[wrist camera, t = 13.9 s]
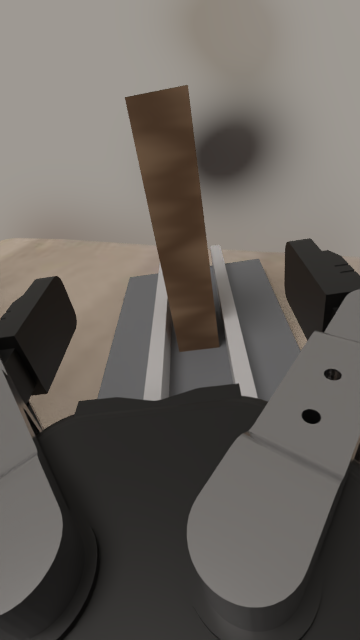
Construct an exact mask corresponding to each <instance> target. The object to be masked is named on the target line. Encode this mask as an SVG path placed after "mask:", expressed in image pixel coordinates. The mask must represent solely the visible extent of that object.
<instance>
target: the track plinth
mask: <svg viewBox="0 0 360 640" xmlns="http://www.w3.org/2000/svg"><path fill="white" fill-rule="evenodd" d="M211 256H212V265H213V266H210V273H211V281H212V289H213V298H214V306H215V314H216V322H217V331H218V339H219V347H218V348H210V349H202V350H193V351H185V352H179V348H178V343H177V339H176V334H175V329H174V324H173V320H172V315H171V310H170V306H169V301H168V296H167V292H166V287H165V282H164V278H163V273H162V268H161V264H160V266H159V273H158V274H151V275H144V276H137V277H130V279H129V283H128V287H127V290H126V294H125V298H124V301H123V305H122V309H121V313H120V316H119V320H118V324H117V327H116V331H115V335H114V339H113V342H112V346H111V350H110V353H109V357H108V361H107V365H106V368H105V372H104V376H103V380H102V383H101V387H100V391H99V394H98V398H97V399H103V398H112V397H122V398H132V399H141V400H151V401H157V400H161V399H165V398H168V397H171V396H174V395H177V394H180V393H184V392H187V391H190V390H193V389H196V388H201V387H210V386H219V385H228V384H237V383H239V386H240V391H241V396H249V397H253V398H258V399H262V400H265V401H268V402H269V400H270V399H271V397H272V395H273V394H274V392H275V391H276V389H277V388H278V386H279V385H280V383H281V381H282V380H283V378H284V377H285V375H286V374H287V372H288V371H289V369H290V367H291V366H292V364H293V363H294V361H295V360H296V358H297V357H298V355H299V353H300V352H301V351H300V349H299V347H298V345H297V342H296V340H295V338H294V336H293V333H292V331H291V329H290V327H289V325H288V322H287V320H286V318H285V316H284V314H283V311H282V309H281V307H280V305H279V302H278V300H277V298H276V296H275V294H274V291H273V289H272V287H271V285H270V283H269V280H268V278H267V276H266V274H265V271H264V269H263V267H262V265H261V263H260V260H259V259H254V260H247V261H240V262H233V263H226V264H225V263H224V259H223V255H222V251H221V247H220V245H217V246H211Z"/></svg>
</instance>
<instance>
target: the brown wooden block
mask: <svg viewBox="0 0 360 640" xmlns="http://www.w3.org/2000/svg"><path fill="white" fill-rule="evenodd" d="M125 100H126V104H127V110H128V114H129V119H130V123H131V128H132V133H133V138H134V142H135V147H136V151H137V156H138V161H139V166H140V170H141V175H142V180H143V184H144V189H145V193H146V198H147V203H148V207H149V212H150V217H151V222H152V226H153V231H154V236H155V240H156V245H157V250H158V254H159V259H160V264H161V268H162V273H163V278H164V282H165V287H166V292H167V296H168V301H169V306H170V310H171V315H172V320H173V324H174V329H175V334H176V339H177V343H178V348H179V352H185V351H193V350H202V349H210V348H218V347H219V339H218V331H217V322H216V314H215V306H214V298H213V289H212V281H211V273H210V265H209V256H208V248H207V240H206V232H205V223H204V215H203V207H202V199H201V190H200V182H199V174H198V166H197V157H196V150H195V141H194V133H193V124H192V116H191V108H190V99H189V92H188V85H185V86H180V87H175V88H170V89H165V90H160V91H155V92H149V93H145V94H139V95H134V96H130V97H125Z"/></svg>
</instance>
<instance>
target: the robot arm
mask: <svg viewBox="0 0 360 640" xmlns="http://www.w3.org/2000/svg"><path fill="white" fill-rule="evenodd" d="M285 293H286V298H287V300H288V303H289V305H290V307H291V309H292V311H293V313H294V315H295V317H296V319H297V321H298V323H299V325H300V327H301V328H302V330H303V332H304V334H305V336H306V338H307V340H308V341H307V343H306V344H305V346H304V347H303V349H302V350H301V352H300V353H299V355H298V357H297V358H296V360H295V361H294V363H293V364H292V366H291V367H290V369H289V371H288V372H287V374H286V375H285V377H284V378H283V380H282V381H281V383H280V385H279V386H278V388H277V389H276V391H275V392H274V394H273V395H272V397H271V399H270V400H269V402H268V401H265V400H262V399H258V398H253V397H249V396H241V391H240V386H239V383H237V384H228V385H219V386H210V387H201V388H196V389H193V390H190V391H187V392H184V393H180V394H177V395H174V396H171V397H168V398H165V399H161V400H157V401H151V400H141V399H132V398H122V397H112V398H103V399H94V400H85V401H79V402H78V406H77V409H76V412H75V414H74V415H71V416H69V417H66V418H64V419H62V420H60V421H58V422H56V423H54V424H52V425H51V426H49V427H47V428H46V429H44V428H43V426H42V424H41V422H40V420H39V418H38V416H37V414H36V412H35V410H34V408H33V406H32V405H31V403H30V401H29V399H30V396H31V395H40V394H47V393H48V391H49V389H50V386H51V384H52V382H53V380H54V377H55V375H56V373H57V370H58V368H59V366H60V364H61V361H62V359H63V357H64V354H65V352H66V350H67V347H68V345H69V343H70V341H71V338H72V336H73V334H74V331H75V329H76V324H77V320H76V314H75V311H74V309H73V306H72V304H71V302H70V299H69V297H68V294H67V292H66V290H65V287H64V285H63V283H62V281H61V279H60V278H59V277H58V276H54V277H47V278H40V279H36V280H35V281H34V282H33V283H32V284H31V286H30V287H29V288H28V290H27V291H26V292H25V294H24V295H23V296H21V297H20V298H19V299H17V300H16V301H15V302H13V303H12V305H11V306H10V307H9V308H8V310H7V311H6V313H5V314H4V315H3V316H2V317H1V320H0V640H360V275H359V274H358V273H357V272H356V271H355V272H354V269H353V268H352V267H351V266H350V265H348V263H347V262H346V261H345V260H344V259H343V258H342V257H341V256H340V255H338V254H335V253H333V252H331V251H328V250H327V251H321V250H320V249H319V248H318V246H317V245H316V244H315V243H314V242H313V241H312V239H303V240H296V241H290V242H287V243H286V248H285Z"/></svg>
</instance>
